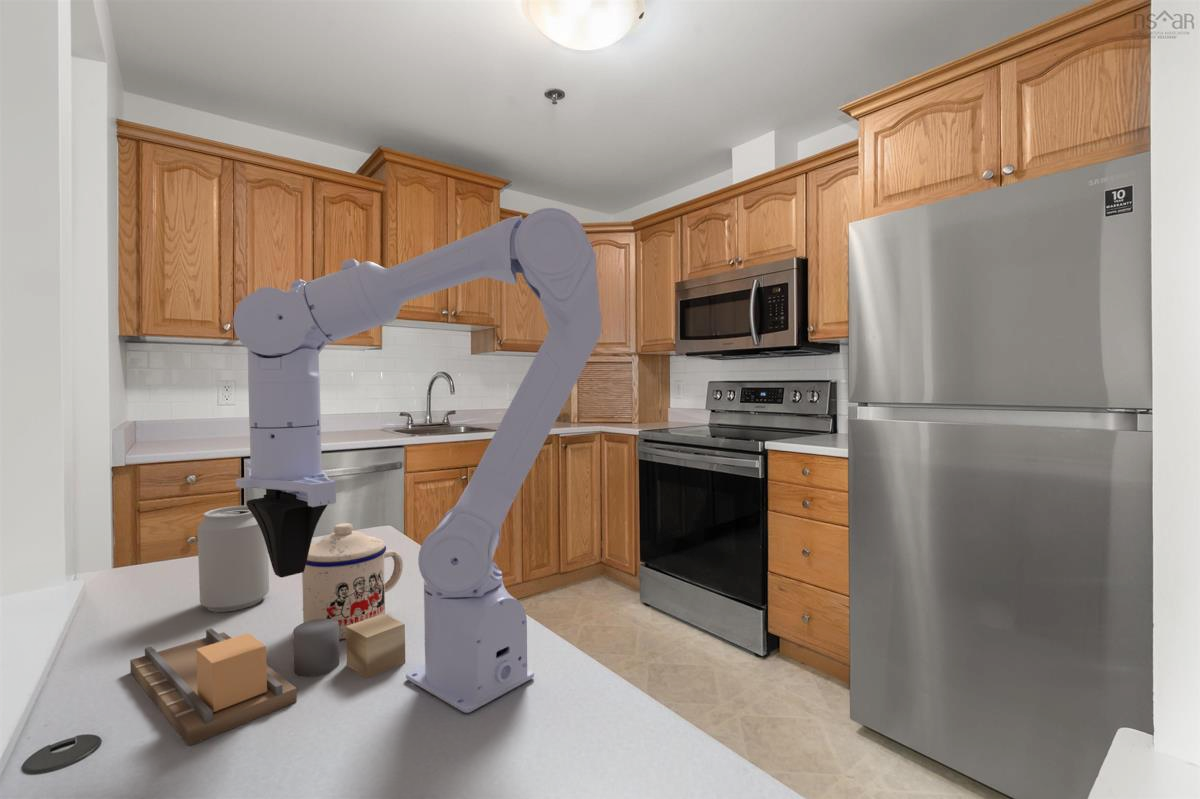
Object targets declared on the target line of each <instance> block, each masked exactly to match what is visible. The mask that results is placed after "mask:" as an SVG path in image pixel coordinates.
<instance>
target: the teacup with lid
mask: <svg viewBox="0 0 1200 799" xmlns="http://www.w3.org/2000/svg"><path fill="white" fill-rule="evenodd" d="M390 557H391V558H392V560H393V571H392V574H391V576H390V578H389V579H388V580H387V581H386V580H385V579H386V578H385V559H386V558H390ZM403 568H404V562H403V558H402V556H401V555H400V553H398V552H397V551H395V550H391V549H387V547H386V544H385V542H384V541H383V540H382V539H381V538H378V537H375V536H371V535H370V536H369V535H367V534H365V533H362V532H360V531H358V530H357V531H355V530H354V526H353V524H352V523H349V522H348V523H347V522H344V523H338V524H336V525H335V526H334V527H333V532H332V533H328V534H327V535H326V536H324V537H323V538H322V539H320V540H317V541H316V542H313V543H311V545H310V549H309V553H308V558H307V562H306V566H305V569H304V572H302V573H301V574H302V575H301V576H302V577H301V578H302V579H301V580H302V612H303V613H302V616H303V617H302V618H303V620H302V621H303V623H305V622H308V621H312V620H317V619H334V620H336V621H338V627H339V640H346V626H348V625H351V624H354V623H357V622H360V621H363V620H366V619H369V618H372V617H375V616H378V615H381V614H385V615H386V593H388V592H389V591H391V590H392V589H394V588H395V587H396V585H397V584H398V583H399V580H400V578H401V576H402V573H403Z"/></svg>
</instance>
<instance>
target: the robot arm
mask: <svg viewBox="0 0 1200 799" xmlns="http://www.w3.org/2000/svg"><path fill="white" fill-rule="evenodd" d="M340 267H341V269H340V270H337V271H335V272H332V273H329V274H327V275H326V274H325V275H324V276H321V277H318V278H316V279H313V280H309V281H307V282H306V280H303V279H297V280H294V281H292V282H290V283H289V284H290V288H289V290H288V291H285V290H283V289H280V288H278V287H273V286H262V287H261V286H260V287H258V289H256V290H255V291H254V292H252V293H250V294H248V295H246V296H245V297H244V298H243V299H241V301H240V302H239V303H238V304H237V306H236V308H235V310H234V314H233V320H232V321H233V329H234V333H235V336H236V337H237V339H238V341H239V342H240V343H241V344H242V345H243V346H244V347H245V348H246V349H247V377H248V378H247V380H248V382H247V383H248V384H247V386H248V418H249V448H250V449H249V451H250V452H249V454H250V467H245V468H244V469H245V470H244V471H245V477H240V478H236V479H235V486H236V487H237V488H240V489H262V490H265V494H264V495H263V497H259V498H252V499H249V500H247V501H246V506H247V507H248V509H249V510H250V511H251V513H252V514H253V516H254V518H255V519H256V521H257V523H258V525H259V527H260V529H261V532H262V534H263V537H264V540H265V543H266V546H267V550H268V558H269V561H270V564H271V568H272V569H273V573H274V575H275V576H277V577H279V578H286V577H289V576H293V575H298V574H302V572H304V569H305V566H306V562H307V558H308V553H309V549H310V545H311V544H312V541H313V537H314V533H315V532H316V528H317V525H318V523H319V521H320V519H321V517H322V515H323V513H324V511H325V509H326V508H327V507H328V505H333V504H336V503H337V490H336V488H337V487H336V480H332V479H330V478H329V477H328V476H327V474H326V472H325V471H324V470H322V469H323V468H322V462H323V460H322V432H321V430H322V427H321V387H320V385H321V384H320V381H321V380H320V365H319V363H320V361H319V360H320V358H319V357H320V356H319V355H320V353H321V352H322V351H323V349H324V348H325V346H326V345H327V344H332V343H335V342H338V341H341V340H343V339H348V338H349V337H352V336H355V335H357V334H360V333H363V332H365V331H368V330H371V329H373V328H377V327H380V326H382V325H385V324H387V323H388V324H389V323H390V322H391V323H392V322H394V321H395V320H396V319H397V317H398V315H399V312H400V310H401V308H402V307H403V305H404V304H405V302H408V301H412V300H414V299H418V298H422V297H424V296H428V295H431V294H435V293H439V292H440V291H443V290H446V289H447V290H448V289H450V288H453V287H457V286H460V285H463V284H466V283H470V282H472V281H475V280H478V279H482V278H489V279H493V280H497V281H500V282H503V283H508V284H511V285H517V284H518V279H517V274H521V275H522V278H523V279H524V282H525V283H526V285H528V287H529V288H530V290H531V291H532V293H533V294H534V295H535V296H536V297H537V298H538V300H539V301H540V306H541V309H542V312H543V314H544V317H545V320H546V324H547V327H548V332H547V334H546V336H545V338H544V340H543V342H542V343H541V346H540V347H539V350H538V351H537V353H536V355H535V357H534V359H533V360H532V362H531V364H530V366H529V369H528V370H527V372H526V374H525V376H524V378H523V379H522V382H521V383H520V385H519V387H518V388H517V390H516V393H515V395H514V397H513V398H512V400H511V402H510V405H509V406H508V408H507V410H506V411H505V414H504V416H503V417H502V419H501V421H500V423H499V425H498V427H497V429H496V430H495V432H494V434H493V436H492V438H491V440H490V442H489V444H488V446H487V448H486V450H485V451H484V453H483V455H482V457H481V459H480V461H479V463H478V465H477V467H476V468H475V470H474V472H473V474H472V476H471V478H470V480H469V481H468V484H467V485H466V486H465V488H464V491H463V492H462V493H461V495H460V497H459V498H458V501H457V502H456V504H455V506H453V507H452V508H450V509H448V511H447V512H446V513H445V514H444V515H443V517H442V518H441V520H440V521H439V524H438V525H437V526H436V528H435V529H434V530H433V531H431V533H430V534H428V535H427V537H425V539H424V540H423V542H422V544H421V545H420V549H419V551H418V560H417V561H418V564H417V565H418V569H419V572H420V575H421V577H422V579H423V611H424V613H423V614H424V615H423V617H424V664H423V665H421V666H419V667H417V668H414V669H411V670H409V671H407V673H406V674H405V679H406V680H408V681H409V682H410V683H411V682H412V683H413V684H414V685H417V686H418V687H420V688H421V689H423V690H425V691H426V692H428V693H430V694H432V695H434V696H435V697H437V698H439V699H440V700H442V701H444V702H446V703H447V704H448V705H451V706H452V707H454V708H456V709H458V710H459V711H461V712H462V713H466V714H467V713H472V712H474V711H475V710H477V709H479V708H480V707H482V706H485V705H486V704H488V703H489V702H492V701H493V700H496V699H497V698H499V697H501V696H503V695H504V694H506V693H508V692H510V691H512V690H513V689H515V688H517V687H520V686H521V685H523V684H524V683H526V682H528V681H530V680H532V679H533V678H534V677H535V672H534V671H533V670H532V669H529V668H528V627H527V626H528V620H527V612H526V609H525V607H524V606H523V604H522V602H521V601H519V600H518V599H517V598H515V597H514V596H513V595H511V594H510V593H509V591H507V589H506V587H505V585H504V582H503V571H501V570H500V569H499V568H500V567H499V566H497V563H496V562H495V560H493V558H494V555H495V553H496V551H497V550H498V547H499V545H500V542H501V536H502V526H503V524H504V523H505V520H506V517H507V515H508V513H509V511H510V509H511V507H512V504H514V501H515V499H516V497H517V495H518V493H519V492H520V490H521V488H522V485H523V484H524V481H525V480H526V478H527V476H528V475H529V473H530V471H531V469H532V466H533V465H534V463H535V461H536V459H537V457H538V455H539V453H540V451H541V449H542V448H543V446H544V444H545V442H546V440H547V438H548V436H549V434H550V432H551V430H552V428H553V426H554V425H555V423H556V421H557V419H558V418H559V416H560V414H561V412H562V410H563V407H564V405H565V404H566V402H567V399H568V398H569V397H570V394H571V392H572V391H573V389H574V387H575V385H576V384H577V381H578V379H579V377H580V375H581V374H582V372H583V370H584V368H585V366H586V364H587V362H588V360H589V358H590V357H591V355H592V353H593V351H594V348H595V347H596V346H597V343H598V342H599V339H600V338H601V334H602V331H603V327H602V326H603V324H602V315H601V312H602V311H601V305H600V304H601V303H600V295H599V286H598V285H599V284H598V276H597V275H598V271H597V255H596V252H595V250H594V247H593V245H592V244H591V241H590V240H589V238H588V235H587V233H586V231H585V229H584V227H583V225H582V224H581V223H580V221H579V220H578V219H577V218H576V216H574V215H572V214H571V213H570V212H567V211H566V210H563V209H560V208H555V207H547V208H545V207H543V208H541V209H537V210H536V211H535V210H534V211H533V212H531V213H529V215H527V216H526V217H525V218H524V219H523V216H522V215H518V216H511V217H507V218H505V219H503V220H501V221H499V222H496V223H494V224H492V225H490V226H488V227H486V228H483V229H482V230H478V231H477V232H474V233H471V234H469V235H467V236H464V237H462V238H459V239H457V240H454V241H453V242H449V243H447V244H444V245H442V246H440V247H437V248H435V249H433V250H431V251H430V250H429V251H428V252H424V253H423V254H420V255H418V256H415V257H413V258H410V259H408V260H405V261H404V262H400V263H398V264H395V265H394V266H391V267H389V268H387V267H383V266H381V265H379V264H377V263H376V262H373V261H369V260H366V261H364V262H363V261H362V262H361V263H360V261H357V260H356V259H355V258H350V259H348V260H347V259H346V260H344V261H342V262H340Z"/></svg>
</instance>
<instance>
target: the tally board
mask: <svg viewBox="0 0 1200 799" xmlns="http://www.w3.org/2000/svg"><path fill="white" fill-rule="evenodd" d="M230 638H232V637H231V636H230V635H228V634H227V633H226V632H225V631H223V632H221V633H220V632H219V633H218V632H217V631H215V630H214V629H213V628H208V629H206V630H205V637H204V638H199V639H196V640H192V641H189V642H187V643H186V642H185V643H183V644H179V645H175V646H173V647H169V648H166V649H163V650H160V651H156V649H155V648H154V647H153V646H152V645H149V646H146V647H144V655H143V656H139V657H135V658H133V659H130V660H129V661H130V662H129V665H130V666H129V667H130V673H131V675H132V676H133V677H134V679H135V680H136V681H137V682H138V684H139V686H141V687H142V689H143V690H144V691H145V692H146V693H147V695H148V696H149V697H150V698H151V700H152V702H153V703H155V705H156V706H157V708H158V709H159V710H160V712H161V713H162V714H163V715H164V716H165V718H166V719H167V720H168V722H170V724H171V725H172V727H173V728H174V729H175V730H176V732H177V733H178V734H179V736H180V737H181V738H182V739H183V740H184V743H186V744H187V746H188V747H190V746H192V745H195V744H197V743H199V742H202V741H205V740H207V739H210V738H212V737H214V736H217V735H220V734H222V733H224V732H227V731H229V730H231V729H234V728H236V727H239V726H241V725H244V724H246V723H249V722H251V721H253V720H255V719H258V718H260V717H262V716H265V715H268V714H270V713H273V712H275V711H278V710H280V709H282V708H284V707H285V708H286V706H287V707H288V706H290V705H292V704H294V703H297V701H298V698H297V697H298V696H297V692H298V691H297V687H296V686H294V685H293V684H292V683H291V682H289V681H288V680H287V679H286V678H284V677H283V676H282V675H281V674H279V673H278V672H276V671H275V670H274V669H273V668H271V667H270V666H268V665H267V664H266V667H267V692H265V693H262V694H259V695H257V696H254V697H252V698H249V699H246V700H244V701H241V702H239V703H236V704H233V705H231V706H228V707H226V708H223V709H220V710H218V711H215V712H213V711H212V710H211V709H210V708H209V707H208V706H207V704H206V703H205V702H204V701H203V700H202V699H201V698H200V697H199V696H198V689H197V657H196V649H198V648H201V647H204V646H208V645H211V644H214V643H217V642H221V641H224V640H227V639H230Z"/></svg>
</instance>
